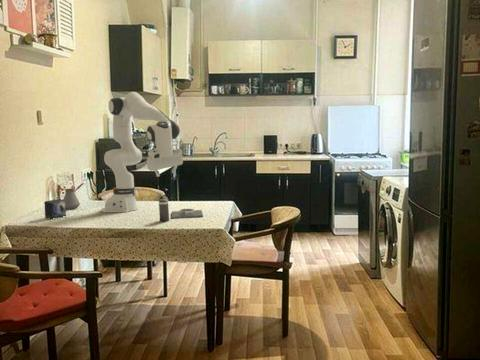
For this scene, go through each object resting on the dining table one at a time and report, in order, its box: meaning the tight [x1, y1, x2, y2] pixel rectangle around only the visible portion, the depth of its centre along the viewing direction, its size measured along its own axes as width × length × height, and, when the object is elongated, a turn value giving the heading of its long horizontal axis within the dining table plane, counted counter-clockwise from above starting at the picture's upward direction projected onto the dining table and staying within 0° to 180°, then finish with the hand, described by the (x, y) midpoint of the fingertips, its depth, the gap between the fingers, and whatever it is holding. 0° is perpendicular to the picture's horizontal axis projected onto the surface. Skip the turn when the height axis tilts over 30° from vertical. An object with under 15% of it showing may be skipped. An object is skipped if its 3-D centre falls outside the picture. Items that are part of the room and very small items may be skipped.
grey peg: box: [158, 198, 170, 223], centre depth 274 cm, size 5×5×12 cm
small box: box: [43, 198, 67, 220], centre depth 291 cm, size 11×6×10 cm, turn 148°
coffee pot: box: [62, 182, 86, 210], centre depth 323 cm, size 21×12×15 cm, turn 162°
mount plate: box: [171, 208, 204, 220], centre depth 289 cm, size 18×16×3 cm
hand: (165, 174), depth 272 cm, fingers open, 8 cm apart
